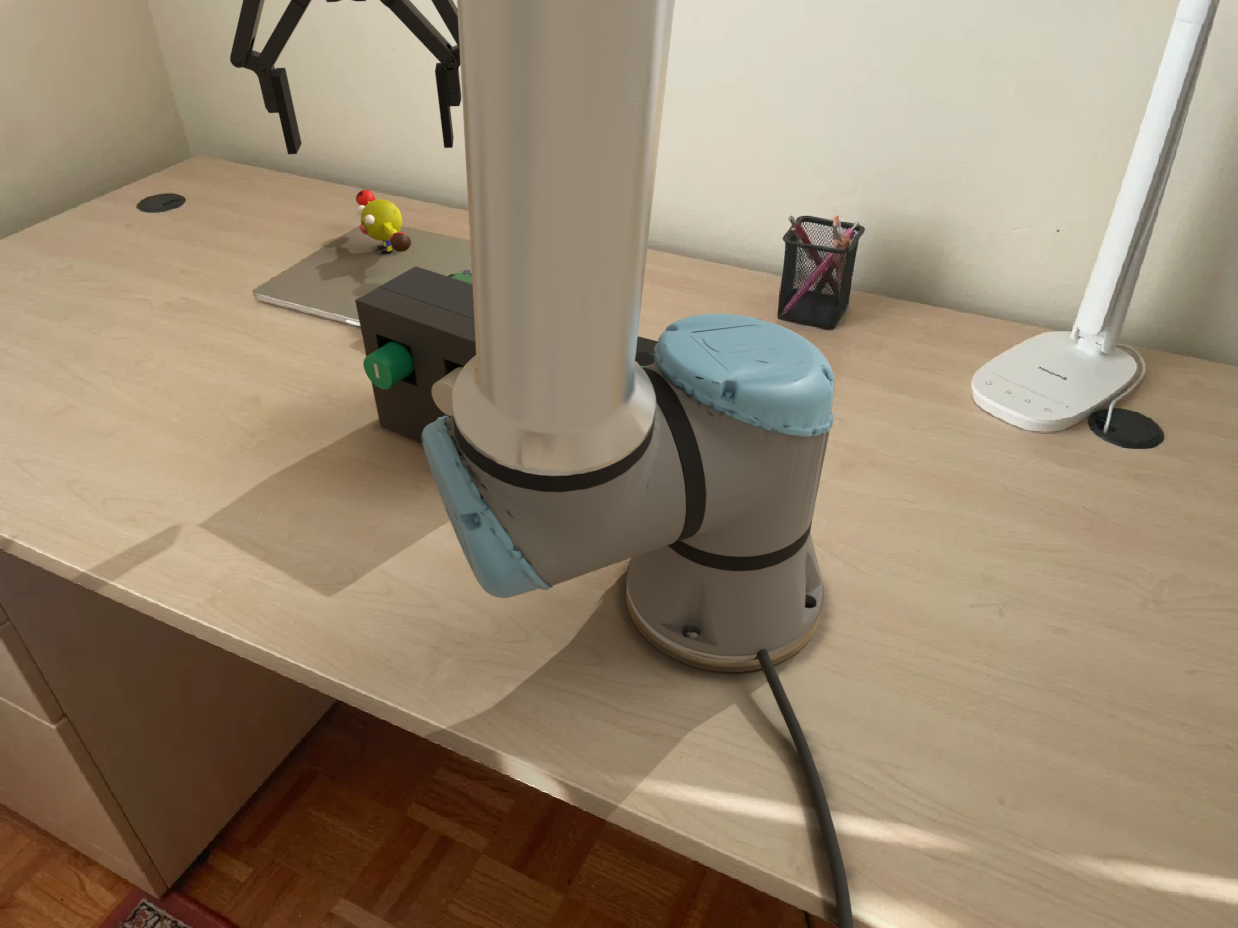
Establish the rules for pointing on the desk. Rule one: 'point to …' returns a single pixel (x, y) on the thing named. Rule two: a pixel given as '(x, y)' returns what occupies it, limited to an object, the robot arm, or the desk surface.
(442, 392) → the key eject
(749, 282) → the desk surface
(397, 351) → the key power
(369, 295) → the dock
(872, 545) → the desk surface
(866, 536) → the desk surface
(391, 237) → the toy figure
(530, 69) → the robot arm
